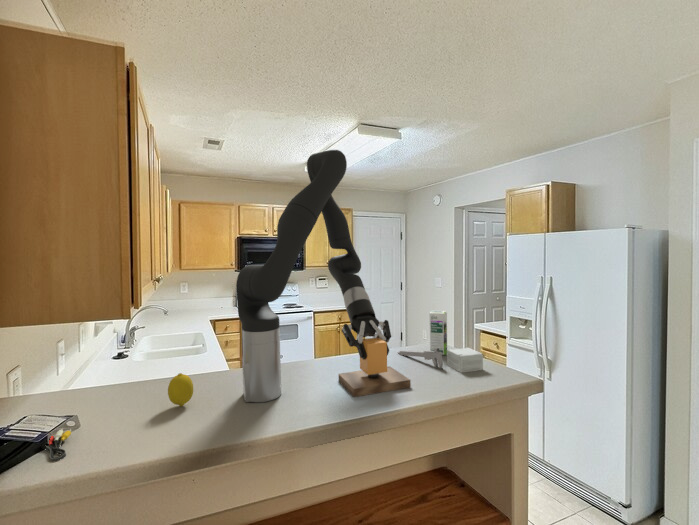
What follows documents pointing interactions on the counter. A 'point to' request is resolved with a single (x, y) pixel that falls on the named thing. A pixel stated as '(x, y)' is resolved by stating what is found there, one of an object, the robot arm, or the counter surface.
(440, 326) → the syrup box
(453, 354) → the small box
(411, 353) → the caliper
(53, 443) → the composite cable
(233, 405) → the counter surface
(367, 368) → the orange rectangular block
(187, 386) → the lemon
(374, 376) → the grey and tan knob
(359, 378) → the board
